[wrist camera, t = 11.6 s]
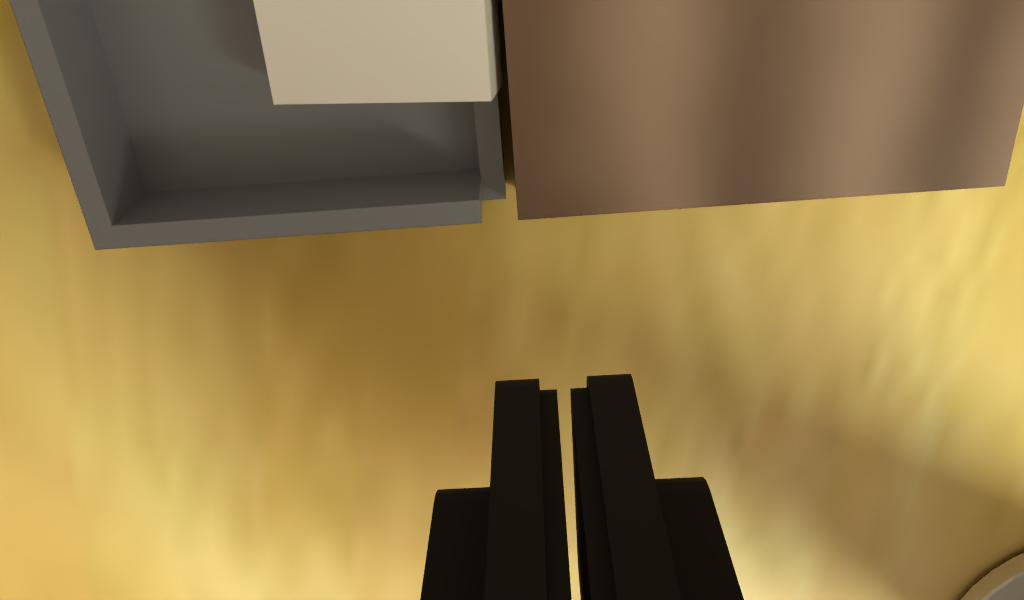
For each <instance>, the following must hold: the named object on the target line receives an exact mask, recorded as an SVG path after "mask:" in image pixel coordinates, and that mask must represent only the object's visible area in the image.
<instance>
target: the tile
mask: <svg viewBox="0 0 1024 600" xmlns="http://www.w3.org/2000/svg"><path fill="white" fill-rule="evenodd" d="M253 2H254V7H255V12H256V17H257V22H258V28H259V33H260V38H261V43H262V48H263V53H264V58H265V63H266V68H267V73H268V78H269V83H270V88H271V93H272V98H273V103H274V105H278V104H344V103H410V102H475V101H492V100H493V98H494V96H495V95H496V93H497V92H498V90H499V89H500V87H501V86H502V71H501V55H500V39H499V23H498V7H497V0H253Z"/></svg>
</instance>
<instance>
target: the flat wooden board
mask: <svg viewBox="0 0 1024 600" xmlns="http://www.w3.org/2000/svg"><path fill="white" fill-rule="evenodd" d="M502 4H503V17H504V31H505V45H506V59H507V72H508V86H509V100H510V114H511V127H512V141H513V155H514V169H515V182H516V196H517V210H518V220H525V219H540V218H554V217H568V216H583V215H597V214H611V213H625V212H640V211H654V210H668V209H683V208H697V207H711V206H725V205H740V204H754V203H768V202H783V201H797V200H811V199H826V198H840V197H854V196H868V195H883V194H897V193H911V192H926V191H940V190H954V189H968V188H983V187H997V186H1005V183H1006V178H1007V174H1008V169H1009V165H1010V161H1011V156H1012V152H1013V148H1014V143H1015V139H1016V134H1017V130H1018V126H1019V121H1020V117H1021V112H1022V108H1023V104H1024V0H502Z"/></svg>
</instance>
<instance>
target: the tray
mask: <svg viewBox="0 0 1024 600" xmlns="http://www.w3.org/2000/svg"><path fill="white" fill-rule="evenodd" d="M10 3H11V6H12V9H13V12H14V15H15V18H16V21H17V24H18V27H19V29H20V32H21V35H22V38H23V41H24V44H25V47H26V50H27V53H28V56H29V59H30V61H31V64H32V67H33V70H34V73H35V76H36V79H37V82H38V85H39V88H40V90H41V93H42V96H43V99H44V102H45V105H46V108H47V111H48V114H49V117H50V119H51V122H52V125H53V128H54V131H55V134H56V137H57V140H58V143H59V146H60V148H61V151H62V154H63V157H64V160H65V163H66V166H67V169H68V172H69V175H70V177H71V180H72V183H73V186H74V189H75V192H76V195H77V198H78V201H79V204H80V206H81V209H82V212H83V215H84V218H85V221H86V224H87V227H88V230H89V233H90V235H91V238H92V241H93V244H94V247H95V250H101V249H115V248H129V247H144V246H158V245H172V244H186V243H201V242H215V241H229V240H244V239H258V238H272V237H287V236H301V235H315V234H329V233H344V232H358V231H372V230H387V229H401V228H415V227H429V226H444V225H458V224H472V223H481V222H482V204H483V200H494V199H506V185H505V171H504V159H503V146H502V133H501V121H500V108H499V95H498V92H497V93H496V95H495V96H494V98H493V100H492V101H475V102H410V103H344V104H278V105H274V103H273V98H272V93H271V88H270V83H269V78H268V73H267V68H266V63H265V58H264V53H263V48H262V43H261V38H260V33H259V28H258V22H257V17H256V12H255V7H254V2H253V0H10Z"/></svg>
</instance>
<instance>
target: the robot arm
mask: <svg viewBox="0 0 1024 600" xmlns="http://www.w3.org/2000/svg"><path fill="white" fill-rule="evenodd" d="M571 415H572V438H573V461H574V484H575V507H576V530H577V552H578V569H579V582H580V594H581V600H744V599H743V596H742V592H741V589H740V586H739V583H738V580H737V576H736V573H735V570H734V567H733V563H732V560H731V557H730V554H729V550H728V547H727V544H726V541H725V537H724V534H723V531H722V528H721V525H720V521H719V518H718V515H717V512H716V508H715V505H714V502H713V499H712V495H711V492H710V489H709V487H708V484H707V482H706V480H705V479H704V478H703V477H693V478H672V479H655V478H654V473H653V469H652V464H651V460H650V455H649V451H648V446H647V442H646V437H645V433H644V429H643V424H642V420H641V415H640V411H639V406H638V402H637V397H636V393H635V388H634V384H633V379H632V376H631V374H620V375H601V376H587V388H575V389H571ZM420 600H571V586H570V572H569V558H568V543H567V529H566V515H565V501H564V486H563V472H562V458H561V444H560V430H559V415H558V401H557V389H556V390H540V386H539V379H525V380H507V381H496V383H495V400H494V420H493V440H492V460H491V479H490V487H485V488H464V489H443V490H438V491H437V492H436V495H435V500H434V506H433V513H432V520H431V528H430V535H429V542H428V549H427V556H426V564H425V571H424V578H423V585H422V592H421V599H420ZM961 600H1024V553H1021V554H1019V555H1017V556H1015V557H1013V558H1011V559H1010V560H1008V561H1006V562H1005V563H1003V564H1001V565H1000V566H998V567H997V568H995V569H993V570H992V571H990V572H989V573H988V574H987V575H986V576H984V577H983V578H982V579H981V580H979V581H978V582H977V583H976V584H975V585H973V586H972V588H971V589H970V590H969V591H968V592H967V593H966V594H965V595H964V597H963V598H962V599H961Z"/></svg>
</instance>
